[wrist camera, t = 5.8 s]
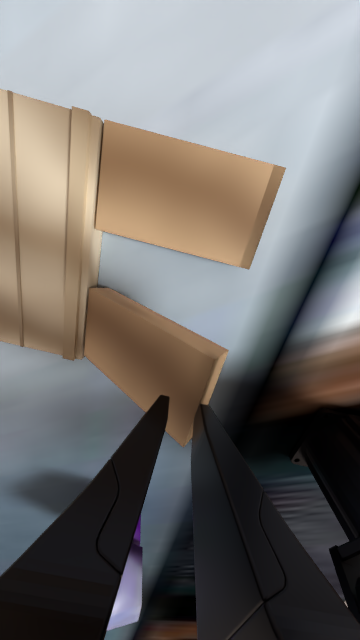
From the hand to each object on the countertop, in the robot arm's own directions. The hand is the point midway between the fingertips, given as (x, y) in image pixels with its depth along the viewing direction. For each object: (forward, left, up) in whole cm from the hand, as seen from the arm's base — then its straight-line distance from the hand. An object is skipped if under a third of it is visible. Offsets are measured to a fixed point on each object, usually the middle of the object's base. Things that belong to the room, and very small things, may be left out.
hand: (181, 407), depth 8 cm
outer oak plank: (+8, +2, -7) cm, 11 cm away
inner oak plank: (0, +2, -4) cm, 5 cm away
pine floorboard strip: (+4, +11, -7) cm, 13 cm away
